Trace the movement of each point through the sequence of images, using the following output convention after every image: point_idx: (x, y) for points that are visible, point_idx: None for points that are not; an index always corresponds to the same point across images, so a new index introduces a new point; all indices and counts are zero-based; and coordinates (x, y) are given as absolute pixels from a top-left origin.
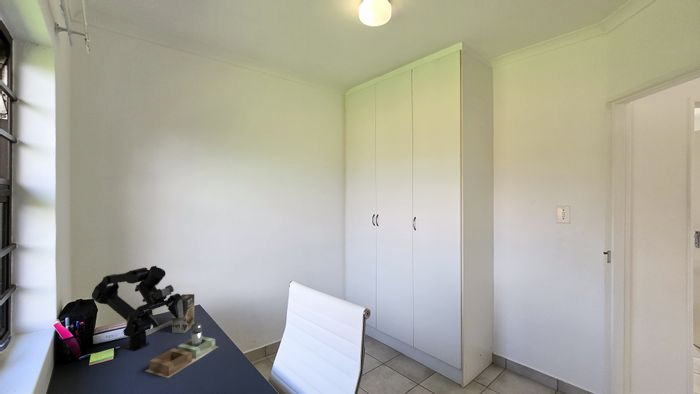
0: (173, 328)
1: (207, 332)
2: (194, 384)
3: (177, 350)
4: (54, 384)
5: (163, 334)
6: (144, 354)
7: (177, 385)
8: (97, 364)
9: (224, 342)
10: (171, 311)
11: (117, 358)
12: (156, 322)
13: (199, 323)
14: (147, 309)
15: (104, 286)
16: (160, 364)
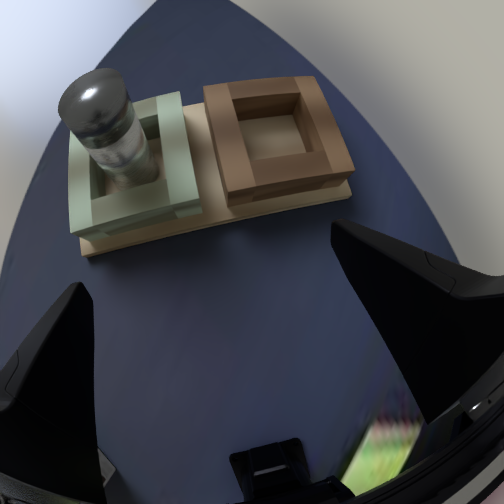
0: (105, 473)
1: (17, 328)
2: (265, 39)
3: (228, 150)
4: None
5: (148, 486)
6: (287, 375)
7: (297, 63)
8: (411, 415)
9: (39, 175)
10: (85, 424)
11: (363, 419)
12: (367, 231)
13: (67, 101)
14: None
15: None
16: (329, 112)
